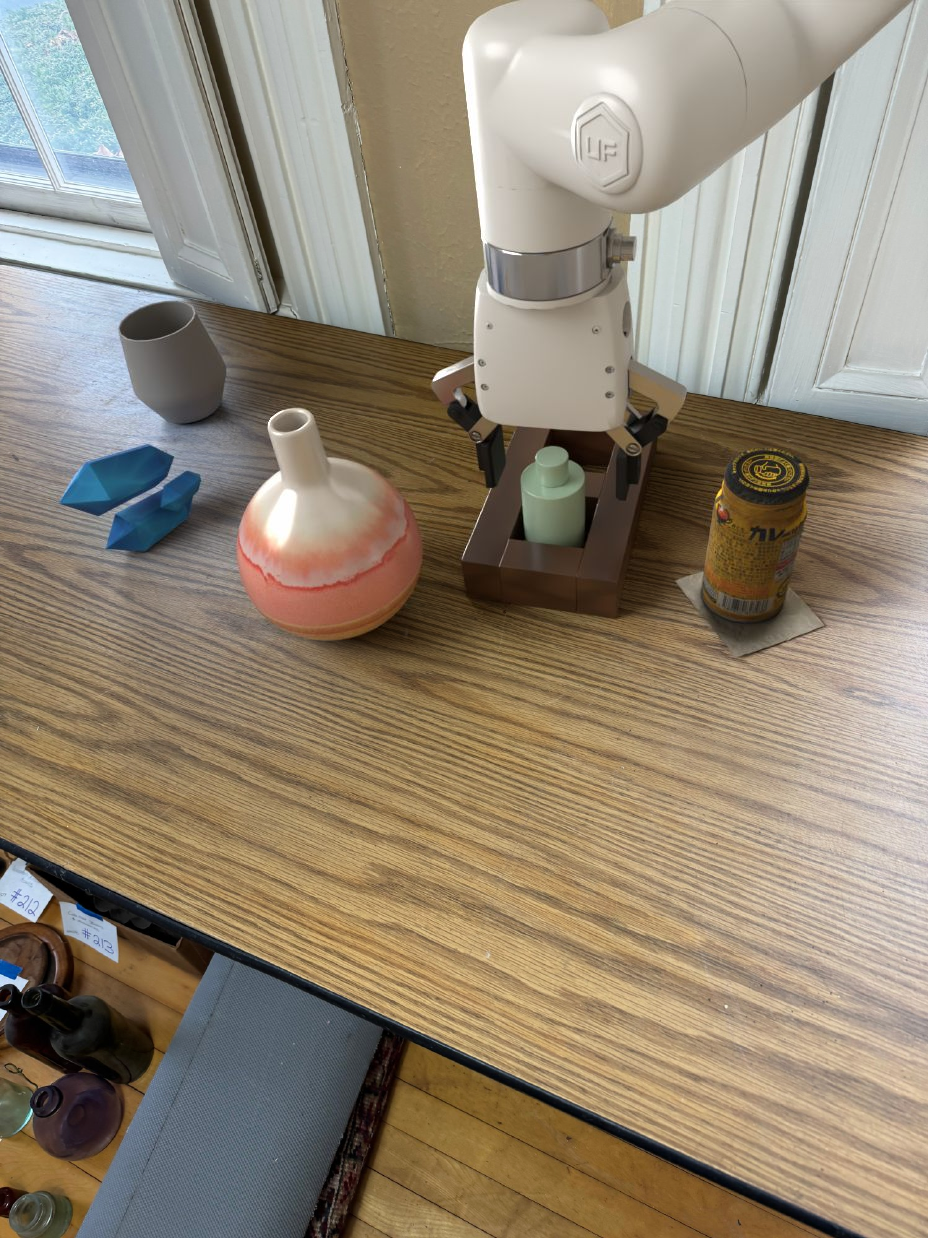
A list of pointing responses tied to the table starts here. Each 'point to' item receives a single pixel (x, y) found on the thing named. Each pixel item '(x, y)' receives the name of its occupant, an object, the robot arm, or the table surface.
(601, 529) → the peg block
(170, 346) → the cup
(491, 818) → the table surface
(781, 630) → the condiment
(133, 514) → the blue crystals
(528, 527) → the bottle
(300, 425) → the vase
